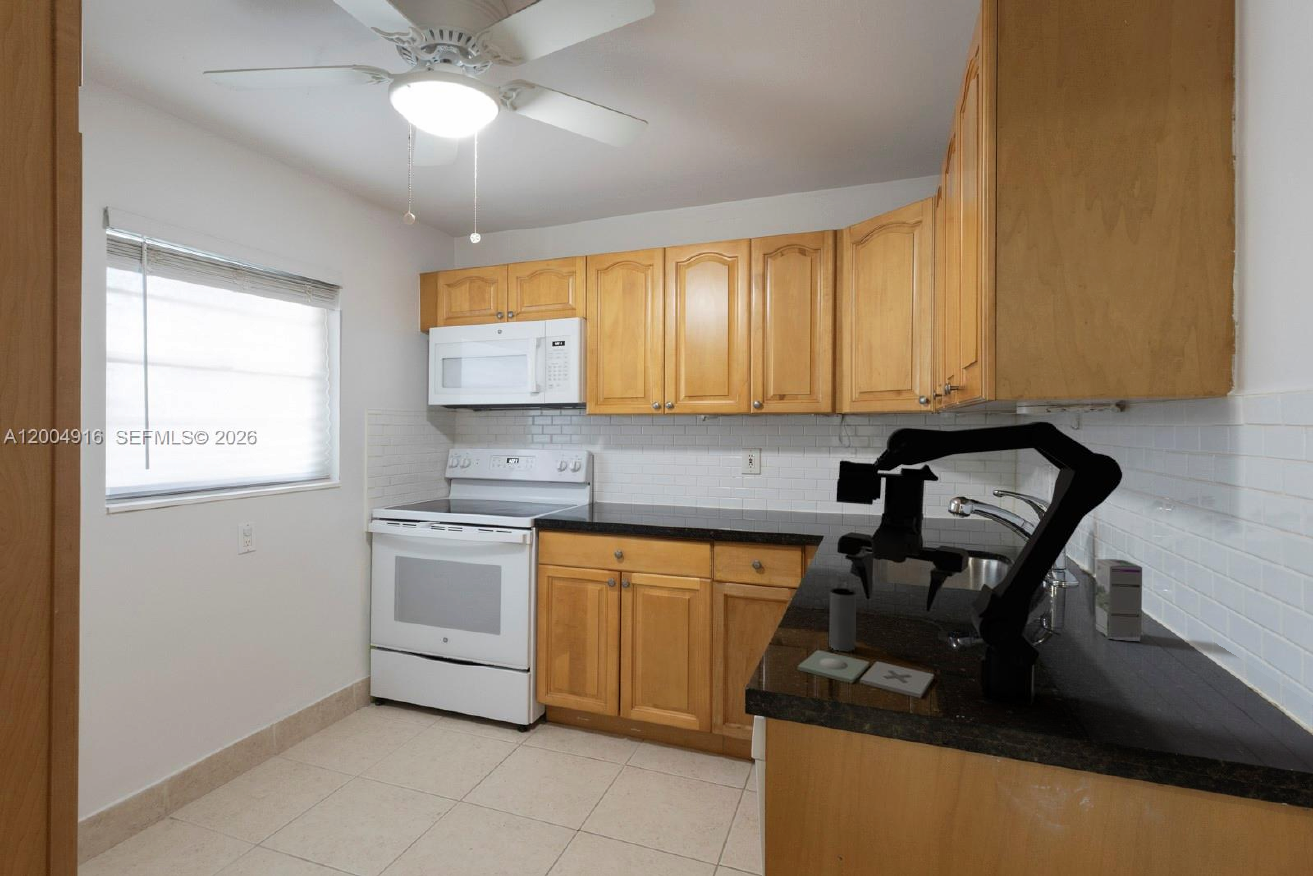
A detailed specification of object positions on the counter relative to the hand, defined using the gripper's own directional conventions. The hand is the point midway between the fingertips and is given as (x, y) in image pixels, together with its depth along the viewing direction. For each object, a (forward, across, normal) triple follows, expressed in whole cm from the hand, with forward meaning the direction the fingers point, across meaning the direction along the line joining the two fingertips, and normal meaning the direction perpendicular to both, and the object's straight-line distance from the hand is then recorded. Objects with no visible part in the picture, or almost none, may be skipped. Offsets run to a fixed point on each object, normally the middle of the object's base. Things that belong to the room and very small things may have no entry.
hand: (897, 604), depth 100 cm
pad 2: (+12, 0, 0) cm, 12 cm away
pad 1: (+12, -10, -1) cm, 16 cm away
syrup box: (+11, +29, +48) cm, 57 cm away
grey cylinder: (+13, -12, +9) cm, 19 cm away
